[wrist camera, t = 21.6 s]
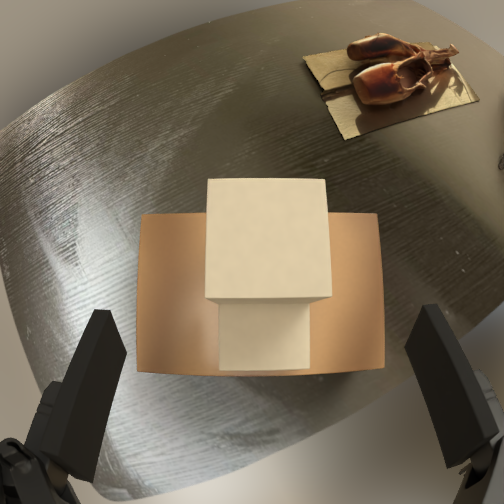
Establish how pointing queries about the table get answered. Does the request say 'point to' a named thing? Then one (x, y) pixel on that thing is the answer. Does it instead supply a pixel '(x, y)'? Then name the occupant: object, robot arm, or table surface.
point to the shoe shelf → (207, 312)
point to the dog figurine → (502, 163)
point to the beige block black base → (266, 268)
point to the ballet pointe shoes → (387, 82)
